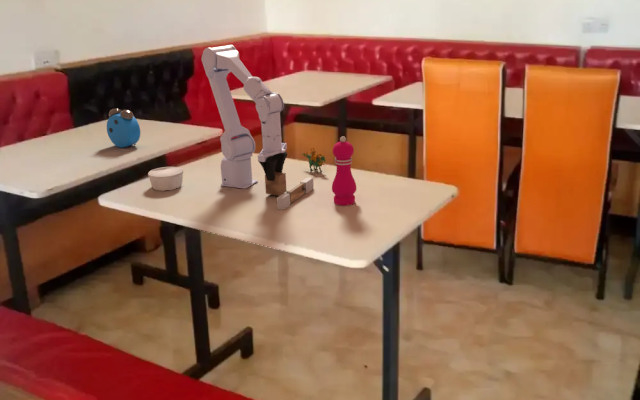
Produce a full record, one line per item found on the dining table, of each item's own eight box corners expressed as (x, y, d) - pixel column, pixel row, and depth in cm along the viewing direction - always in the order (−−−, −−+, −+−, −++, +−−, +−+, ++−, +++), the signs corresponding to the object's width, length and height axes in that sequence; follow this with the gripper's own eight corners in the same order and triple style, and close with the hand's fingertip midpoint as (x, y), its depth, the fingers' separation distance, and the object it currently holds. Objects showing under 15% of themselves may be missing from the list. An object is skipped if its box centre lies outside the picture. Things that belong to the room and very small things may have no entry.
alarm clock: (142, 146, 267) (138, 109, 262) (131, 150, 262) (125, 112, 257) (120, 142, 274) (115, 106, 268) (108, 146, 269) (102, 109, 264)
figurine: (322, 175, 224) (321, 151, 222) (299, 167, 233) (297, 145, 230) (329, 172, 226) (328, 149, 223) (305, 165, 235) (304, 143, 232)
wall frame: (277, 209, 196) (276, 196, 194) (307, 187, 213) (307, 176, 211) (283, 209, 195) (282, 197, 194) (313, 188, 212) (313, 176, 211)
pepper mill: (349, 207, 195) (347, 140, 188) (327, 203, 198) (325, 138, 191) (361, 200, 200) (360, 134, 194) (340, 196, 204) (338, 132, 197)
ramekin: (172, 179, 226) (170, 164, 225) (191, 186, 219) (190, 170, 217) (143, 187, 219) (141, 172, 217) (161, 194, 212) (159, 179, 210)
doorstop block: (265, 193, 206) (264, 175, 204) (272, 189, 210) (271, 171, 208) (280, 195, 204) (279, 176, 202) (286, 191, 208) (285, 172, 205)
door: (288, 202, 200) (287, 192, 199) (301, 192, 208) (301, 183, 207) (293, 202, 200) (293, 192, 199) (306, 193, 207) (306, 183, 206)
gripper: (271, 141, 193) (274, 186, 198) (294, 129, 205) (296, 172, 210) (250, 140, 196) (253, 184, 201) (274, 128, 208) (276, 170, 213)
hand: (274, 178), depth 205 cm, fingers closed on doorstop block, 4 cm apart
